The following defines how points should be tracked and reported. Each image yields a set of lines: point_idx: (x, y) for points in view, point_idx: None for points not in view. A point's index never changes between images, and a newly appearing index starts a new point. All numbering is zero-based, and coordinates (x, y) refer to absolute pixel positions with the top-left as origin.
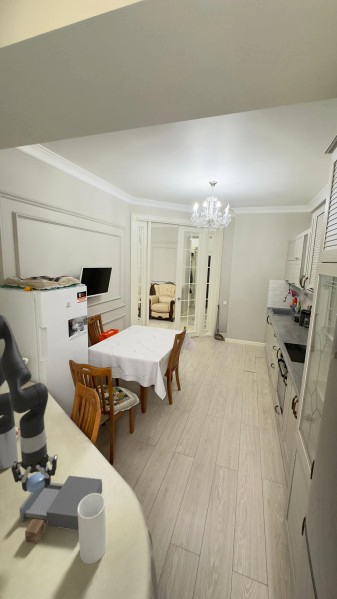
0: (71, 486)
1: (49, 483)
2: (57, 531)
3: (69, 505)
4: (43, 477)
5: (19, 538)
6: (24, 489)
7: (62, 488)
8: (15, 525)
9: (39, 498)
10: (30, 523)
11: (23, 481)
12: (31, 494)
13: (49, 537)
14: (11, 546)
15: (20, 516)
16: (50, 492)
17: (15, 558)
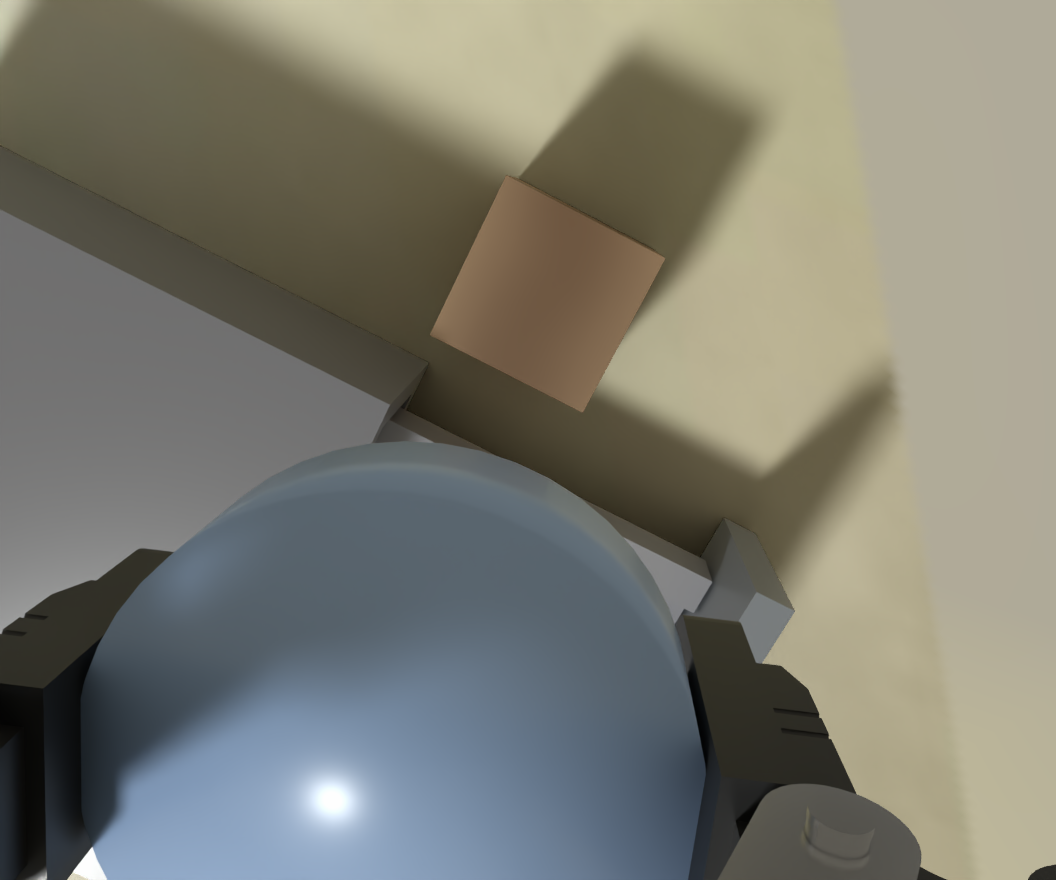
0: None
1: (56, 600)
2: (297, 245)
3: (57, 393)
4: (166, 803)
5: (734, 319)
6: (743, 650)
7: None
8: (807, 504)
9: None
10: (608, 354)
11: (817, 816)
12: None
13: (382, 202)
14: (810, 251)
15: (764, 558)
16: None
17: (740, 82)
